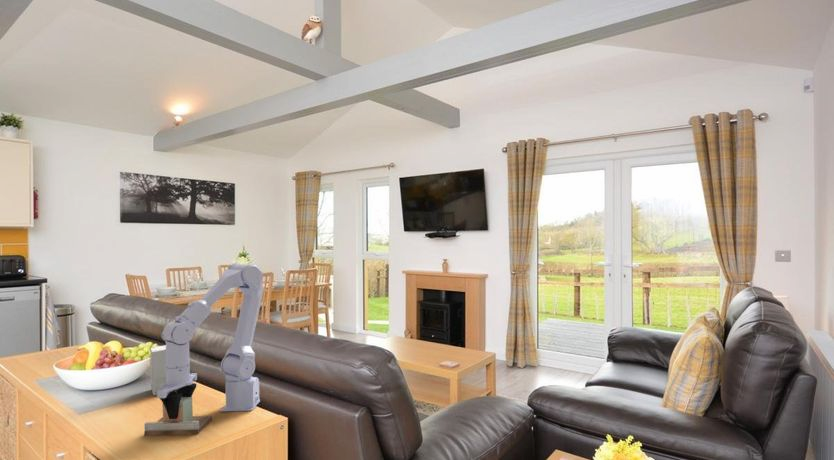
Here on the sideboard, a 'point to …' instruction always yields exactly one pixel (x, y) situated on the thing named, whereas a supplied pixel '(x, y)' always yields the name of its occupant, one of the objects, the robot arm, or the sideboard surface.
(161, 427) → the rail
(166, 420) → the product carton
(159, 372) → the skincare box
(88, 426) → the sideboard surface
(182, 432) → the shelf board
